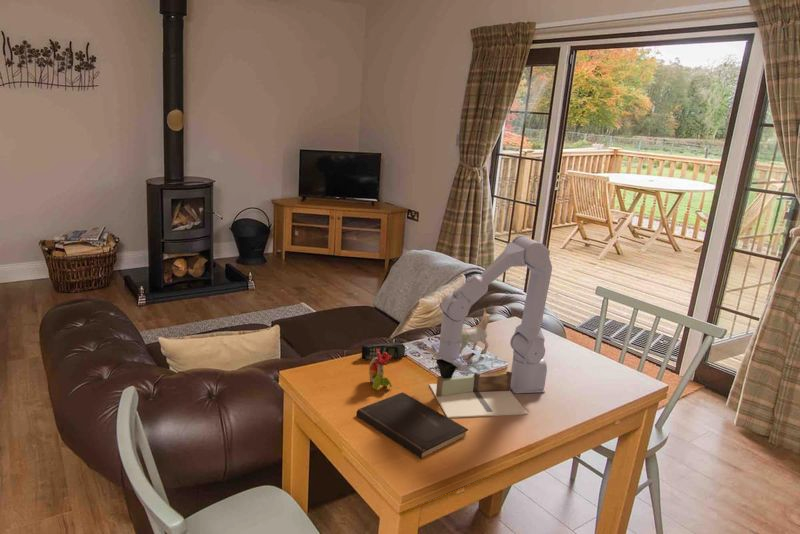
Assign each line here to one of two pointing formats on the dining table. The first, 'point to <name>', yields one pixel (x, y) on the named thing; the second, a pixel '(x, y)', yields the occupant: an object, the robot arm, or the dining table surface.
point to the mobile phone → (383, 350)
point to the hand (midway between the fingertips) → (445, 384)
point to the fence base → (492, 382)
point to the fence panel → (454, 385)
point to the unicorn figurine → (476, 334)
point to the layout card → (479, 403)
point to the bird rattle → (379, 370)
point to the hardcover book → (411, 424)
